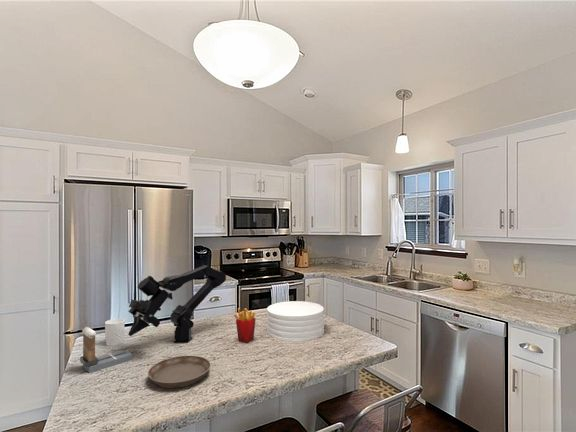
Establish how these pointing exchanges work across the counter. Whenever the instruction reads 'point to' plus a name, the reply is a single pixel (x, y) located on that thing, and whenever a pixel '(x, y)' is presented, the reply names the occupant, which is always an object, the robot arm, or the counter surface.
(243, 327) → the french fries
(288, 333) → the plate stack
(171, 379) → the plant saucer
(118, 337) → the white cup
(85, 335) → the slide lever
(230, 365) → the counter surface
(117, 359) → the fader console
